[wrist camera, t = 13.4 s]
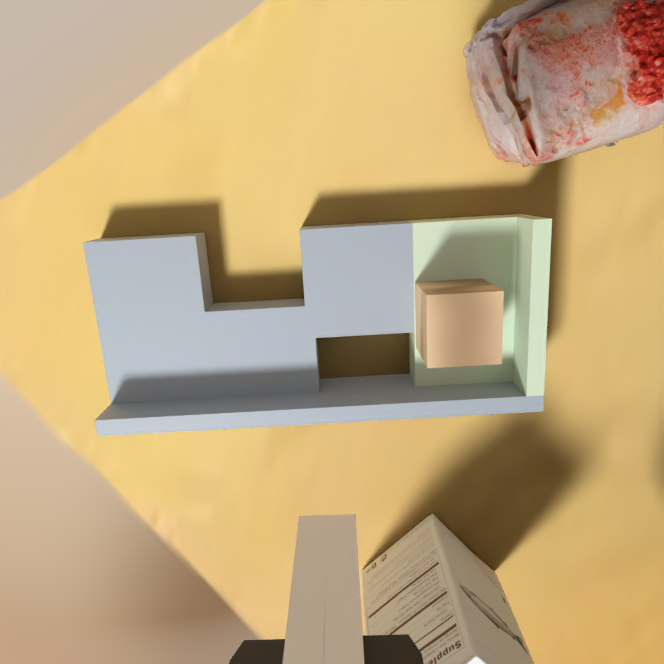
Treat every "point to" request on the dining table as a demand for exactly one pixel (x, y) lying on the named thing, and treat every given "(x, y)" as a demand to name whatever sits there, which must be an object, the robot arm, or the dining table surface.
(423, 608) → the supplement box
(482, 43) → the food item
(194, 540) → the dining table surface
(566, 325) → the dining table surface
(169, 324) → the tray
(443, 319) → the oak block
